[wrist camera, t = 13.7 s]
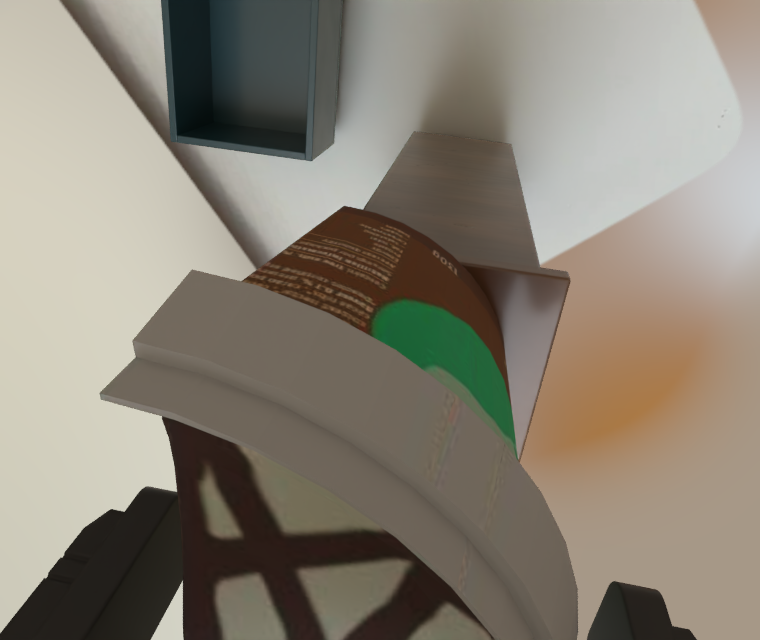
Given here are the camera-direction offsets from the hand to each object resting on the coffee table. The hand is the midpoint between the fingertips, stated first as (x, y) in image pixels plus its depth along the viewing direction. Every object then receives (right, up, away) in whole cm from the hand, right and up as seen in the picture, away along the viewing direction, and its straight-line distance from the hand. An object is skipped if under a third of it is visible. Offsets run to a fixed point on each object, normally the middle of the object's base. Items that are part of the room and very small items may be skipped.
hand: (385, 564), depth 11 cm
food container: (+2, +3, +6) cm, 7 cm away
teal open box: (-6, +23, +23) cm, 33 cm away
